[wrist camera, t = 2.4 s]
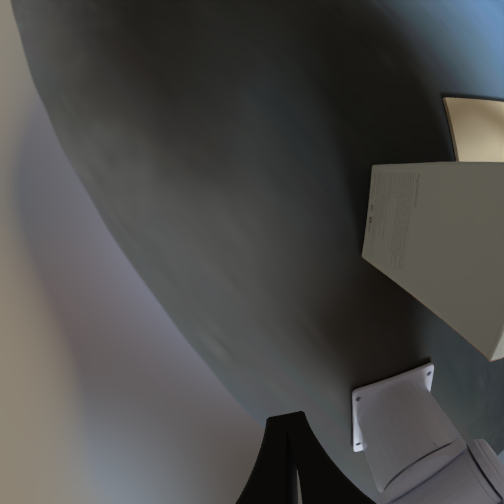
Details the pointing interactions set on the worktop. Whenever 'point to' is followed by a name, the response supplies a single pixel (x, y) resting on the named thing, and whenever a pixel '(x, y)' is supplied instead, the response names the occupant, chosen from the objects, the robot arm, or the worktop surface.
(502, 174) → the small box
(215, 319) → the worktop surface
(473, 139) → the board
